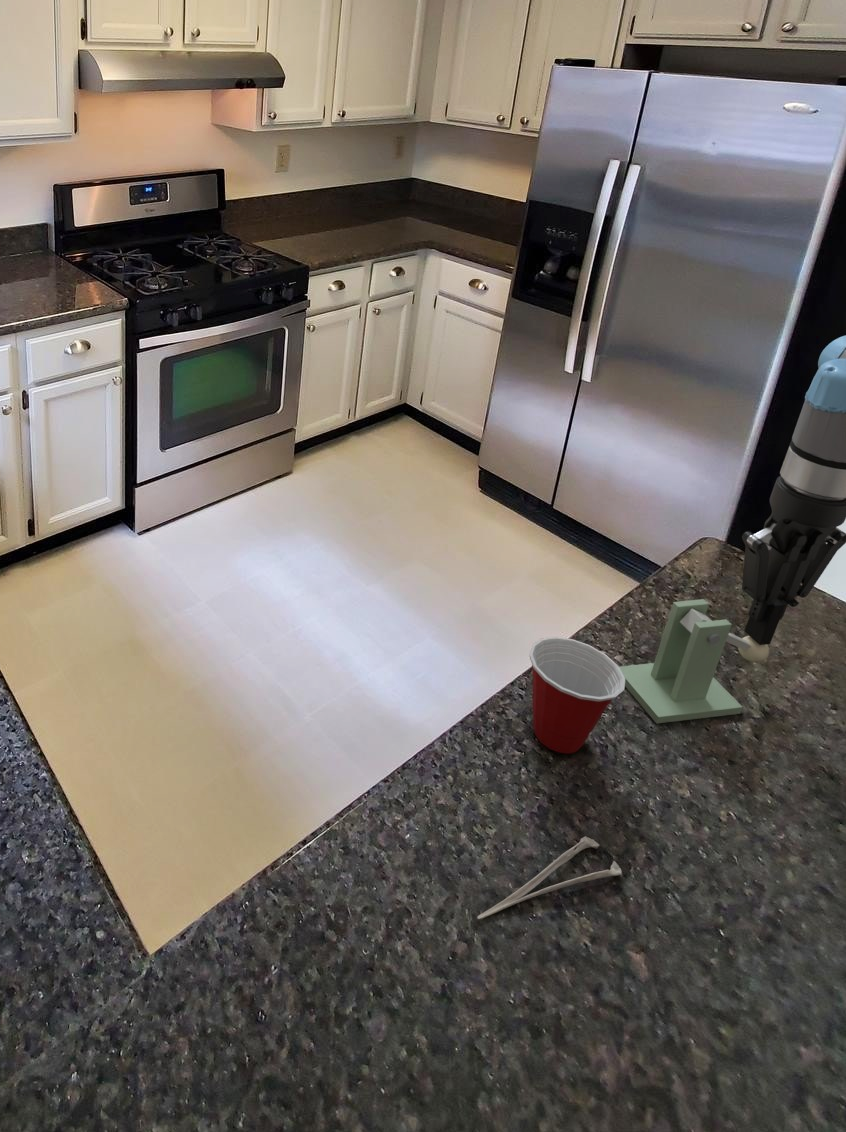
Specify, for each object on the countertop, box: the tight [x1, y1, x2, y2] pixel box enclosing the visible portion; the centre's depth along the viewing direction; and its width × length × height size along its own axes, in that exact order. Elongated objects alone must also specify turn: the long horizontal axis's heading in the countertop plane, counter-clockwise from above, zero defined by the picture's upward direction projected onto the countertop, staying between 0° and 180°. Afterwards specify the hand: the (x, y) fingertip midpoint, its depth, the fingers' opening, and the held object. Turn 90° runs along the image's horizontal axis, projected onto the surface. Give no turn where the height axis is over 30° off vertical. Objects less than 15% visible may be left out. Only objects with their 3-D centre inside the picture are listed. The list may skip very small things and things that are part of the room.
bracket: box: [619, 598, 743, 725], centre depth 105 cm, size 12×9×14 cm
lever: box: [680, 609, 770, 663], centre depth 105 cm, size 14×3×3 cm, turn 98°
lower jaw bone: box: [476, 835, 623, 920], centre depth 84 cm, size 18×5×2 cm, turn 112°
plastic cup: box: [528, 636, 626, 754], centre depth 99 cm, size 11×11×12 cm
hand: (756, 637), depth 106 cm, fingers closed
